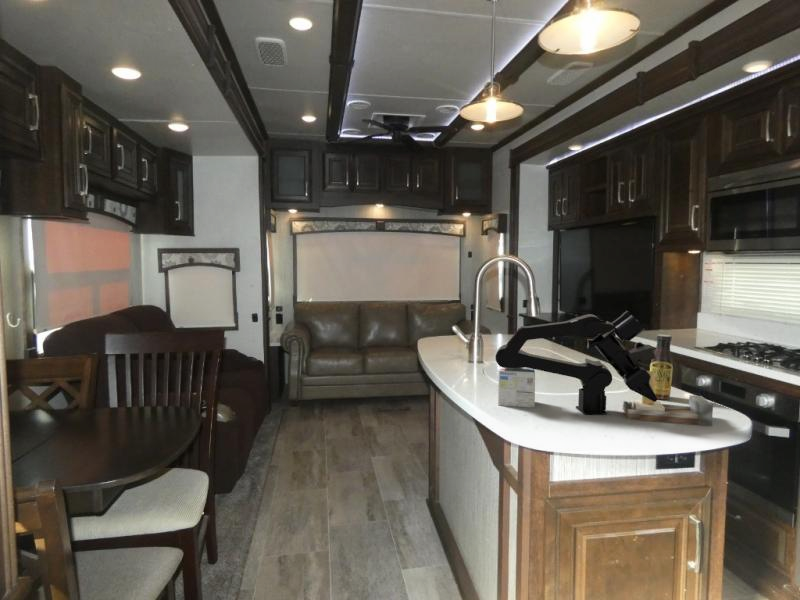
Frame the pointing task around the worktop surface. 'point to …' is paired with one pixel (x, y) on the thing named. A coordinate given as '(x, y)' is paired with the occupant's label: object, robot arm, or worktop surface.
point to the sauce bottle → (662, 367)
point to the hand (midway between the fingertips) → (652, 396)
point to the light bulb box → (516, 387)
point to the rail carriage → (647, 403)
